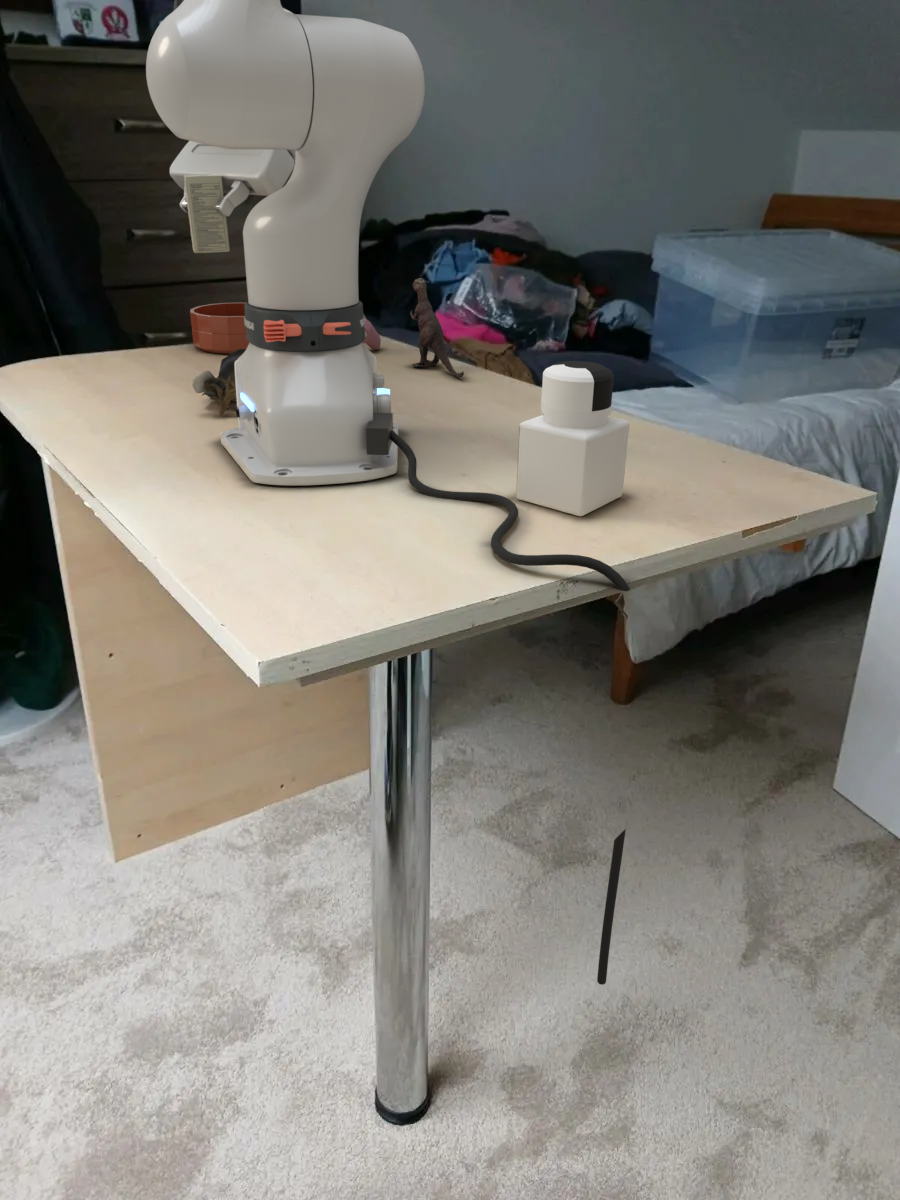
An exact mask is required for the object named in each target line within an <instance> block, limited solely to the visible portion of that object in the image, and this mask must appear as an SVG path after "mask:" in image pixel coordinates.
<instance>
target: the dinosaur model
mask: <svg viewBox="0 0 900 1200" xmlns="http://www.w3.org/2000/svg"><path fill="white" fill-rule="evenodd" d="M412 288H413V290H414V291H415V292H416V294H417V305H416V306H415V309H414V313H413V310H411V311H410V312H409V315H410V317H411V319H412V320H413V321H416V322H417V325H418V329H419V336H418V350H419V354H420V359H419V362H416V363H411V367H419V366H420V367H425V366H428V365H434V366H435V367H436V366H437V365H438V364H439V363H440V362H441V364H442V365H443V366H444V367H445V369H446V371H448V372H449V374H451V375H452V376H453V377H455V378H462V377H464V375H465V371H464V370H463V371H461V372H459V373H458V372H457V371H456V370H455V368H454V367H453V365H452V363H451V361H450V358H449V354H448V352H447V349H446V344H445V340H444V330H443V328H442V325H441V322H440V320H439V318H438V317H437V314H436V313H435V312H434V310H433V306H432V304H431V302H430V300H429V299H428V293H427V284H426V281H425V279H424V278H423V277H418V278H416V279H414V281H413V283H412ZM429 350H432V351H433V355H434V356H433V359H432V360H429V359H428V354H429Z"/></svg>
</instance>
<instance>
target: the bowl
mask: <svg viewBox="0 0 900 1200" xmlns="http://www.w3.org/2000/svg"><path fill="white" fill-rule="evenodd" d="M246 303H247V302H220V303H208V304H203V305H197V306H195V307H192V308H190V309H189V314H190V325H191V333H192V343H193V346H195V347H197V348H199V349H200V350H202V351H205V352H208V353H213V354H225V355H227V354H228V355H230V354H232V353H233V352H235V351H236V350H239V349H247V347H248V345H249V341H248V340H247V338H246V326H245V324H244V316H245V304H246Z"/></svg>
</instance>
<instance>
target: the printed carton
mask: <svg viewBox="0 0 900 1200" xmlns="http://www.w3.org/2000/svg"><path fill="white" fill-rule="evenodd" d="M184 184H185V192H186V200H187V207H188V213H187V215H188V223H189V229H190V230H189V231H190V237H191V244H192V251H193V253H194V254H208V253H228V252H231V249H230V240H229V230H228V223H227V216H221V215H219V213H218V212H217V211H216V210H215V205H216V204H217V203H218V200H219V198H224V197H225V195H224V194H225V193H223V185H222V176H221V175H190V176H185V175H184Z"/></svg>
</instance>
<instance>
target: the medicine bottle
mask: <svg viewBox="0 0 900 1200" xmlns="http://www.w3.org/2000/svg"><path fill="white" fill-rule="evenodd" d="M614 378H615V374H614V373H613V372H612V370H611V369H610V368H608V367H606V366H605V365H602V364H600V363H597V362H591V361H583V360H582V361H581V360H580V361H579V360H569V361H568V360H567V361H566V360H565V361H560V362H556V363H554V364H551V365H549V366H547V367H546V368H545V369H544V370H543V372H542V381H541V382H542V384H541V401H540V412H541V413H542V414H541V415H539V416H536V417H532V418H530V419H527V420H524V421H521V422H520V423H519V427H518V449H517V452H518V453H517V468H516V469H517V471H516V490H515V491H516V492H515V496H516V498H517V499H518V500H519V501H523V502H527V503H531V504H535V505H538V506H541V507H545V508H548V509H553V510H556V511H559V512H563V513H565V514H566V513H567V514H571V515H572V516H573V515H574V516H577V517H583V516H585V515H587V514H589V513H591V512H593V511H595V510H597V509H599V508H601V507H603V506H605V505H607V504H610V503H611V502H613V501H615V500H617V499H619V498H621V497H622V496H623V494H624V493H623V492H624V483H625V473H626V460H627V452H628V444H629V443H628V442H629V431H630V422H629V421H628V420H626V419H622V418H617V417H611V416H610V415H611V412H612V403H613V402H612V401H613V390H614V388H613V387H614V380H615V379H614Z"/></svg>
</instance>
